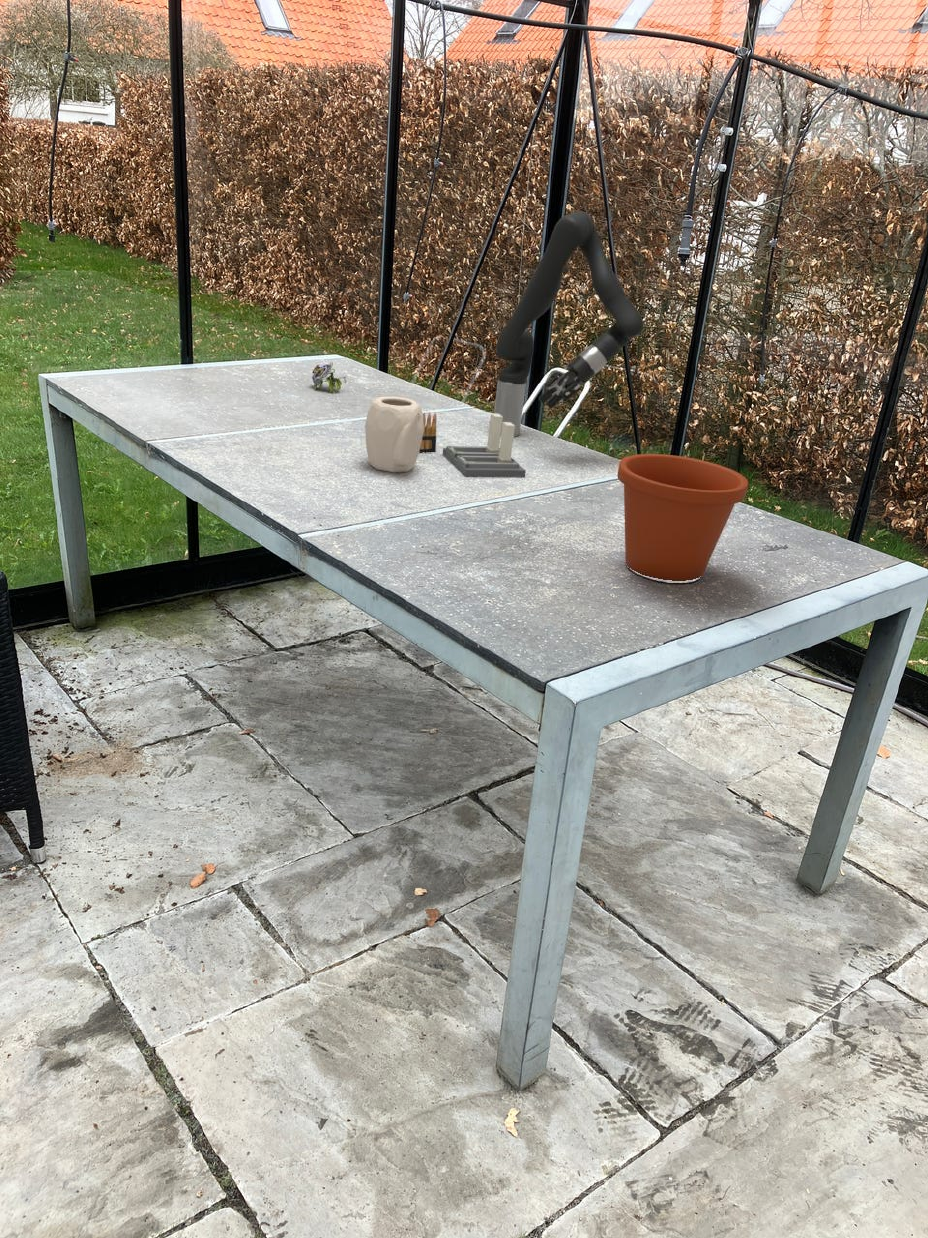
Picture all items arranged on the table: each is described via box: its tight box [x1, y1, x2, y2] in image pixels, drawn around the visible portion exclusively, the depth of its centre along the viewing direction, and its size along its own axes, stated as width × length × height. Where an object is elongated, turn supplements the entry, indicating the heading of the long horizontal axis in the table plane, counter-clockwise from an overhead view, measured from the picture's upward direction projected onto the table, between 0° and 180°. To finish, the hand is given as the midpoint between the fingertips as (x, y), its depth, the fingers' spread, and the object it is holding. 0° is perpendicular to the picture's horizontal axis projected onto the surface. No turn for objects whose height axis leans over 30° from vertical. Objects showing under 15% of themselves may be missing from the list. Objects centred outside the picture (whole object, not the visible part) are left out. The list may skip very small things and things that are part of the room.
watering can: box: [364, 396, 424, 473], centre depth 268 cm, size 16×27×19 cm, turn 29°
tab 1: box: [485, 412, 503, 453], centre depth 287 cm, size 4×3×12 cm
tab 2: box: [497, 422, 515, 463], centre depth 278 cm, size 4×3×12 cm
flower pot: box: [616, 453, 749, 581], centre depth 217 cm, size 28×28×23 cm
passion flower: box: [311, 361, 347, 394], centre depth 353 cm, size 11×11×12 cm
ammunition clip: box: [419, 412, 437, 454], centre depth 288 cm, size 11×2×12 cm, turn 117°
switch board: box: [442, 445, 527, 478], centre depth 284 cm, size 22×18×3 cm
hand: (544, 403), depth 288 cm, fingers open, 5 cm apart
